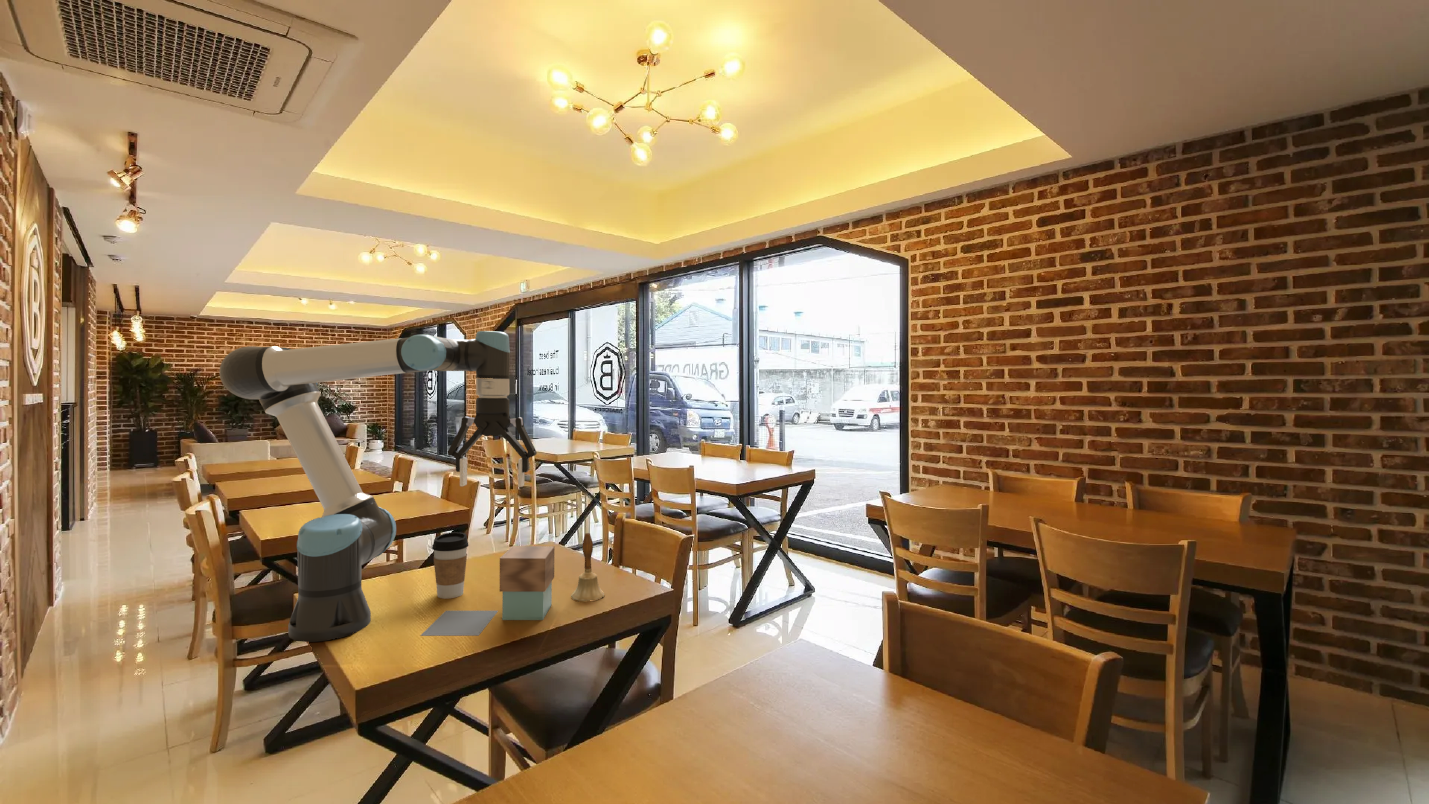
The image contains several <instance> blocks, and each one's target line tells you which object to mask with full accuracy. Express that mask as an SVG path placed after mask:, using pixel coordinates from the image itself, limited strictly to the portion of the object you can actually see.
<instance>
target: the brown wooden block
mask: <svg viewBox="0 0 1429 804" xmlns="http://www.w3.org/2000/svg"><path fill="white" fill-rule="evenodd" d="M555 547H556V546H553V545H551V546H546V545H545V546H544V545H543V546H542V545H541V546H540V545H536V546H535V545H533V546H532V545H531V546H530V545H529V546H528V545H512V546H511V547H510V548H508V550H507V551H506V552H505V553H503V554H502V555H501V556H500V557H499V592H501V593H503V592H545V591H546V589H547V588H548V586H549V585H550V583H551V582H552V583H553V580H554V579H555Z"/></svg>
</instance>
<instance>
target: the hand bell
mask: <svg viewBox="0 0 1429 804" xmlns="http://www.w3.org/2000/svg"><path fill="white" fill-rule="evenodd" d="M593 548H594V542H593V539H592V536H591V533H590V532H586V533H584V537H583V541H582V553H583V557H584V572H582V573H580V574H579V575H578V581H577V582H578V583H577V586H576V589H575V590H574V591H573V592H572V593H571V596H570V598H571V597H572V598H571V599H572V600H573V601H575V600H578V601H577V602H579V601H590V600H597V599H600V598H602V597H603V598H604V597H605V596H604V594H605V592H604V591H603V590H602V589H601V587H600V585H599V580H598V574H596V572H593V571H592V555H593V550H594V549H593ZM603 598H602V599H603ZM600 600H601V599H600ZM597 601H598V600H597Z"/></svg>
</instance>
